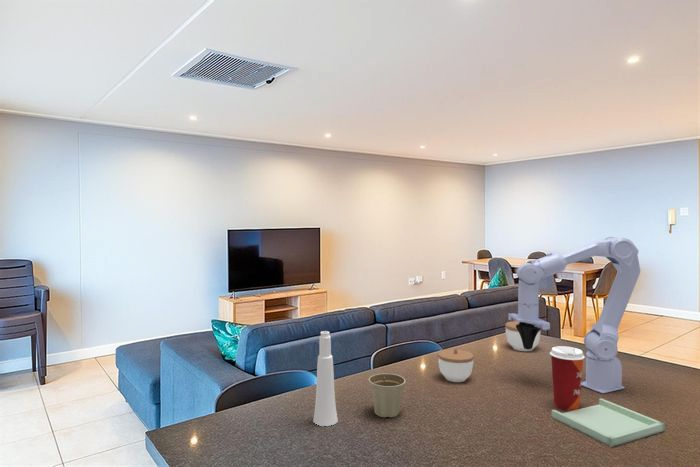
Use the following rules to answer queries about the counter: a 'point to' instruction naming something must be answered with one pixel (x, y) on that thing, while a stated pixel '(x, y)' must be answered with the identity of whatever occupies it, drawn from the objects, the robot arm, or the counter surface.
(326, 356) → the cosmetic bottle
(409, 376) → the counter surface
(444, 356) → the lidded jar
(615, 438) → the tray
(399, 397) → the flower pot
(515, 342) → the lidded bowl
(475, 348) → the counter surface
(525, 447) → the counter surface
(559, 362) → the coffee cup
